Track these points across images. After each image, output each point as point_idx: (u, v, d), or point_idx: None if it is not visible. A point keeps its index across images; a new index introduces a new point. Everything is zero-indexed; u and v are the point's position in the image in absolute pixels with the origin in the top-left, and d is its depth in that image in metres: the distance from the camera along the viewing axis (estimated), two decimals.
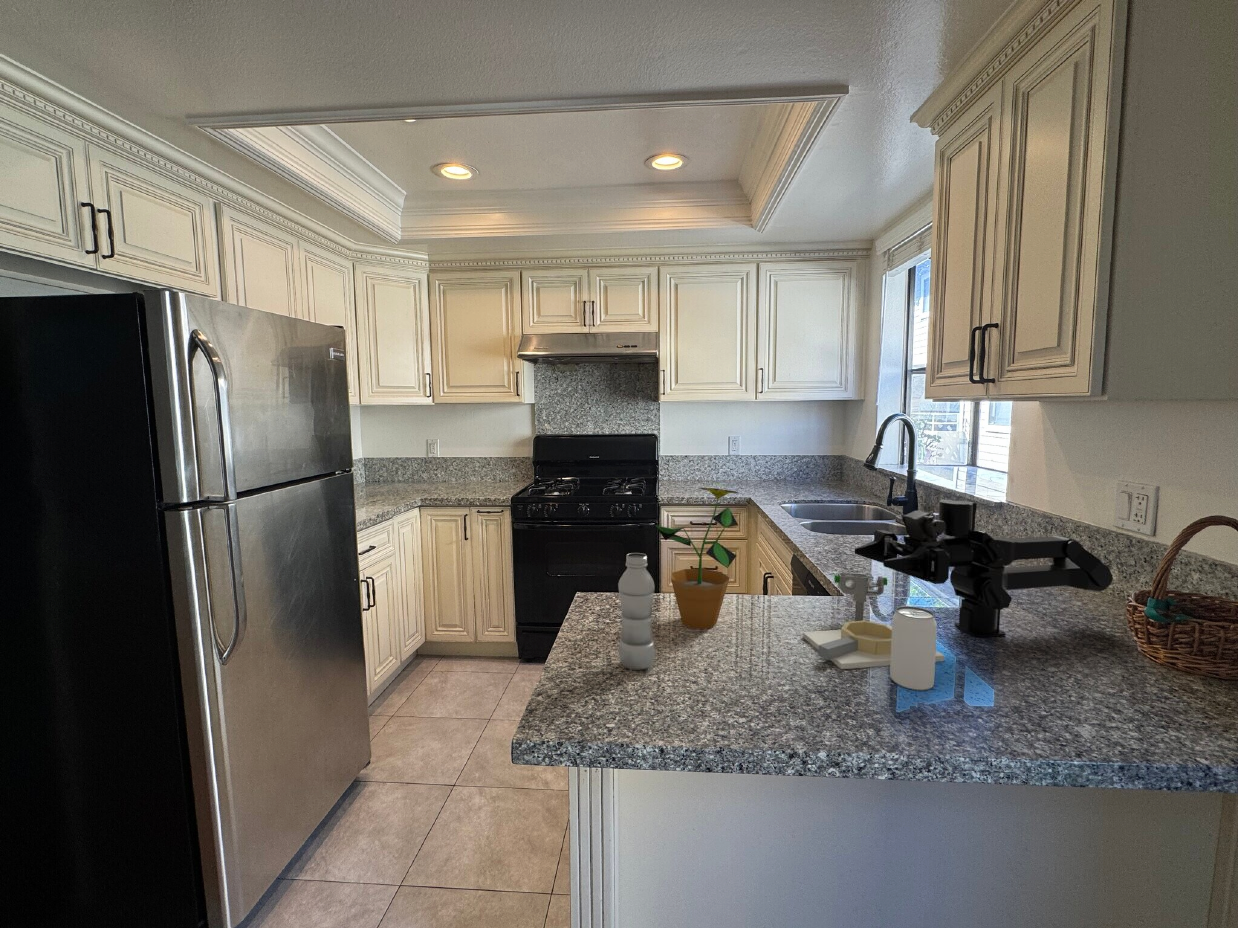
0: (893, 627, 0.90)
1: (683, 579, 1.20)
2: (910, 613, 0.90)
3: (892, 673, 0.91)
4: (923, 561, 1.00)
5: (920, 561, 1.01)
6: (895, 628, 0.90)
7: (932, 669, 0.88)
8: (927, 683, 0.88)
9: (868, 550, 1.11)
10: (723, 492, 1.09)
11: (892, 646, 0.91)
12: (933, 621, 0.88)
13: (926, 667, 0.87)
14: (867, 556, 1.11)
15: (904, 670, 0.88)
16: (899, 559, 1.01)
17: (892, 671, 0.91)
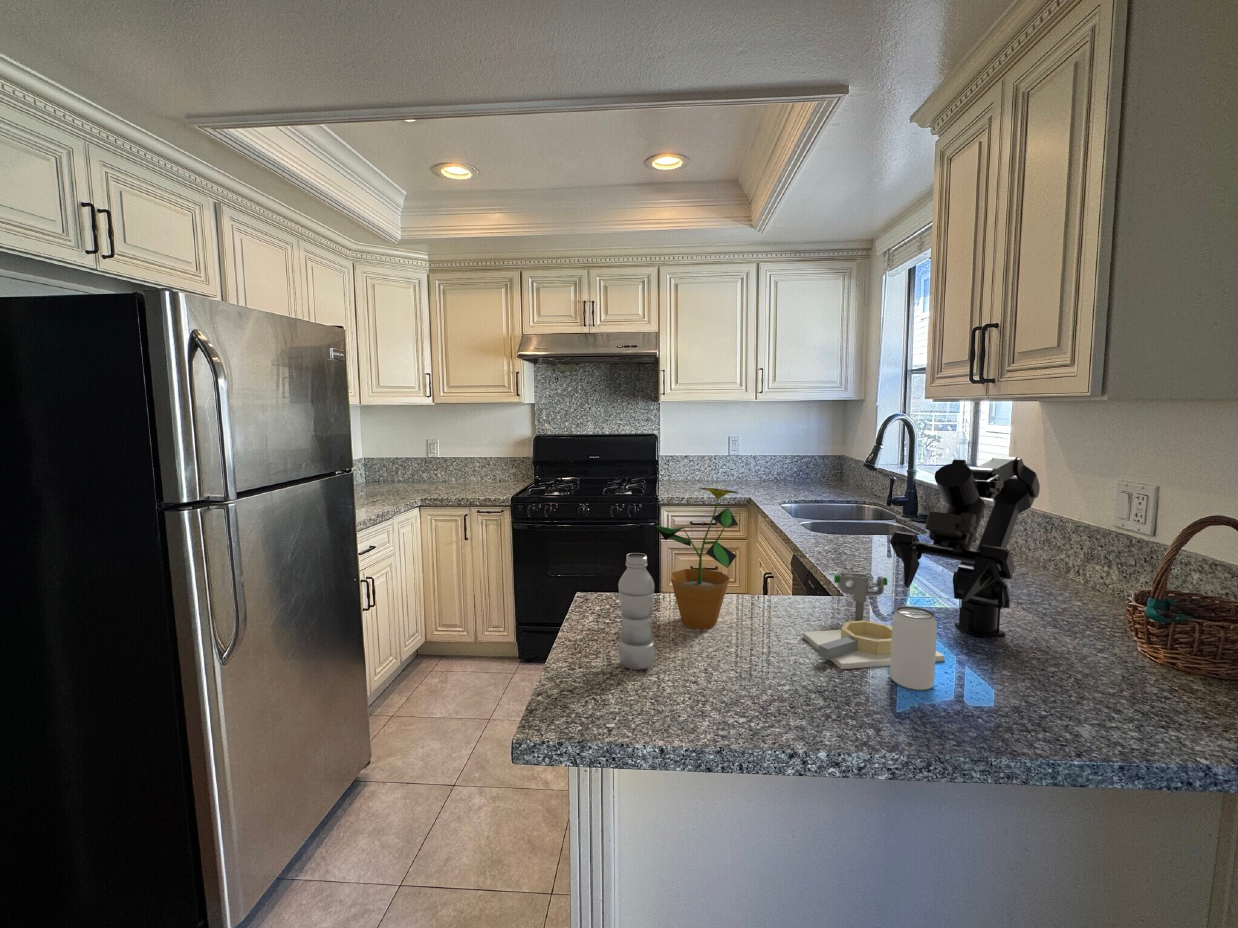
0: (893, 627, 0.90)
1: (683, 579, 1.20)
2: (910, 613, 0.90)
3: (892, 673, 0.91)
4: (989, 568, 0.91)
5: None
6: (895, 628, 0.90)
7: (932, 669, 0.88)
8: (927, 683, 0.88)
9: (911, 573, 0.99)
10: (723, 492, 1.09)
11: (892, 646, 0.91)
12: (933, 621, 0.88)
13: (926, 667, 0.87)
14: (913, 577, 1.00)
15: (904, 670, 0.88)
16: (972, 585, 0.91)
17: (892, 671, 0.91)
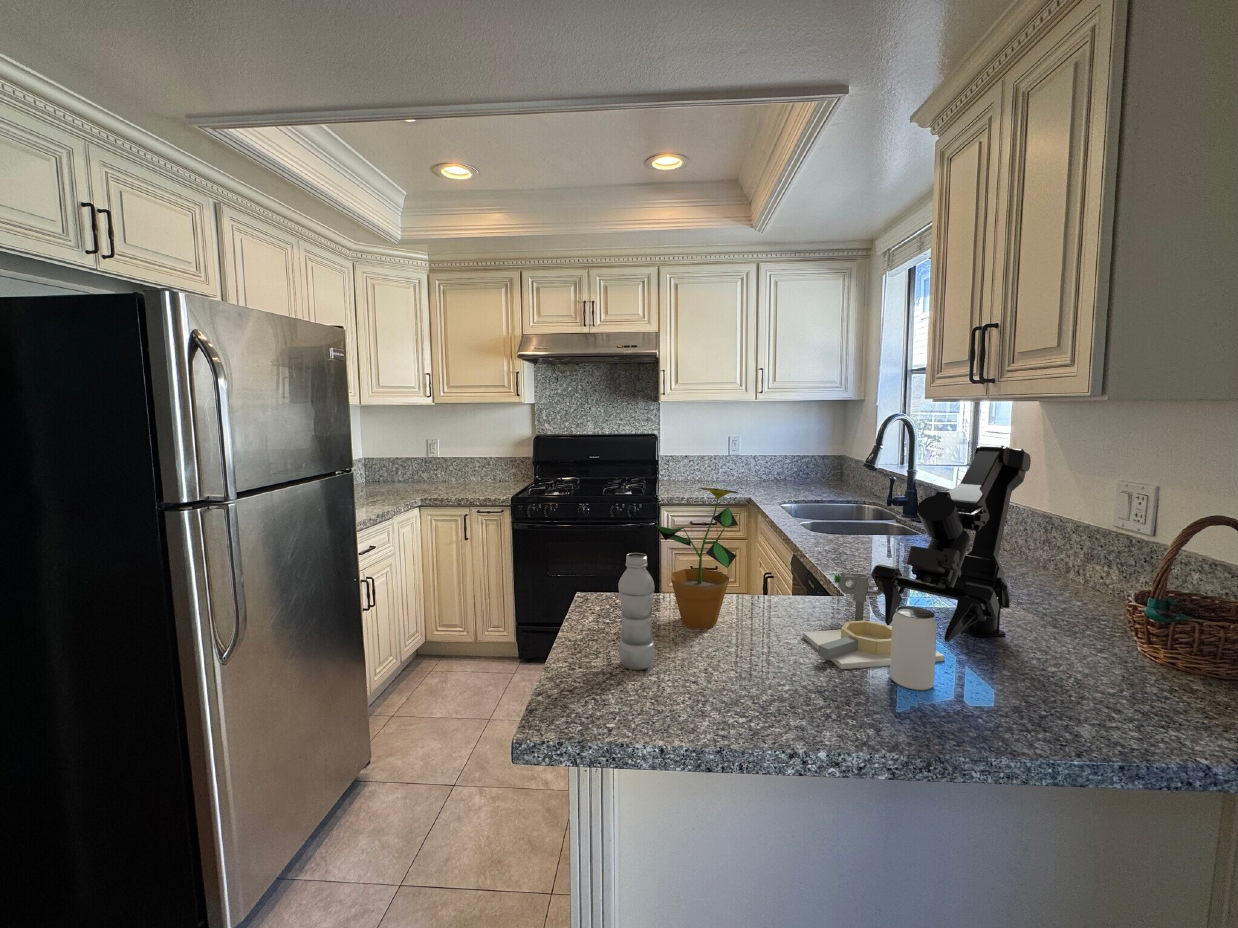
0: (893, 627, 0.90)
1: (683, 579, 1.20)
2: (910, 613, 0.90)
3: (892, 673, 0.91)
4: (972, 608, 0.87)
5: None
6: (895, 628, 0.90)
7: (932, 669, 0.88)
8: (927, 683, 0.88)
9: (893, 609, 0.95)
10: (723, 492, 1.09)
11: (892, 646, 0.91)
12: (933, 621, 0.88)
13: (926, 667, 0.87)
14: None
15: (904, 670, 0.88)
16: (955, 625, 0.87)
17: (892, 671, 0.91)
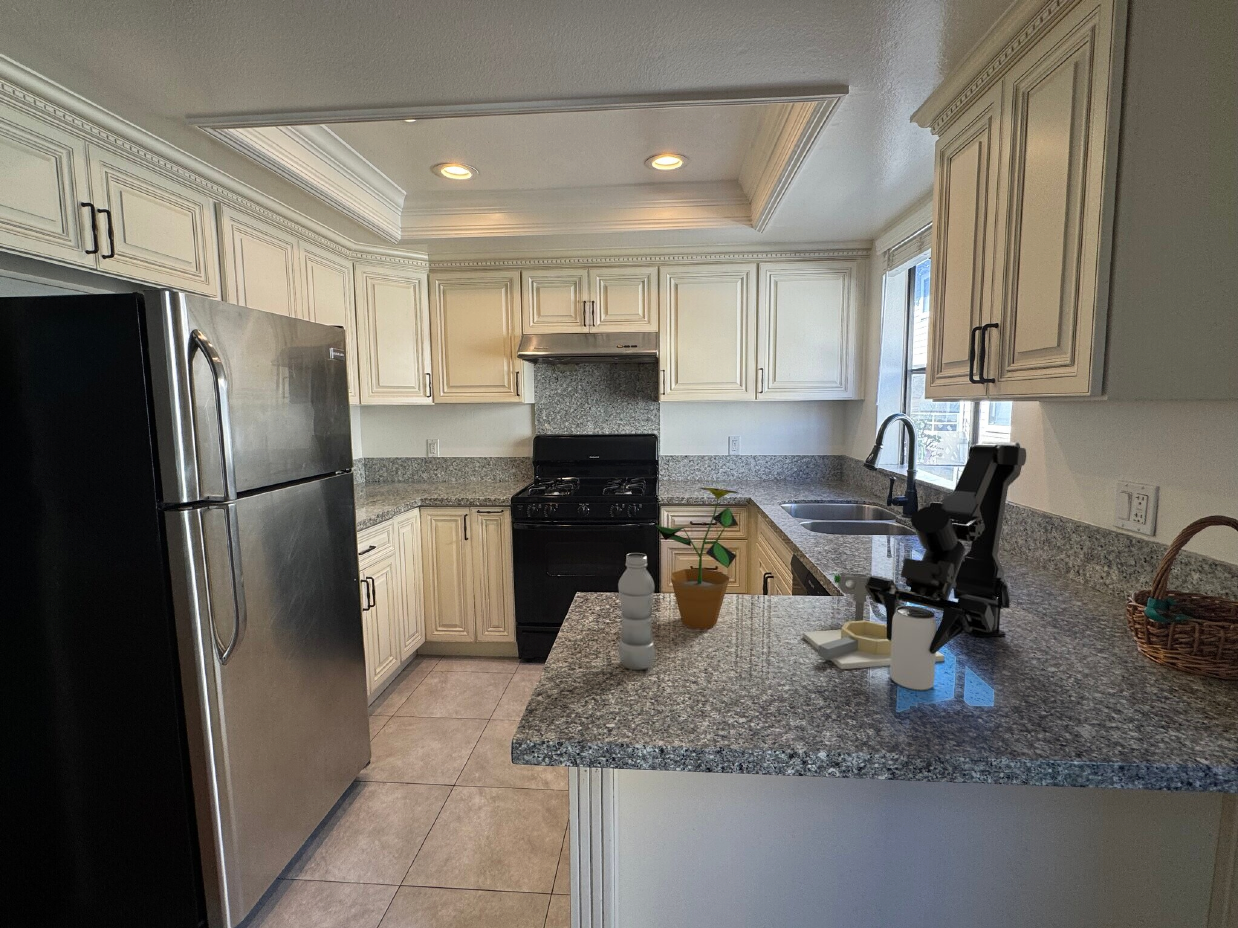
0: (893, 627, 0.90)
1: (683, 579, 1.20)
2: (910, 613, 0.90)
3: (892, 673, 0.91)
4: (958, 619, 0.87)
5: None
6: (895, 628, 0.90)
7: (932, 669, 0.88)
8: (927, 683, 0.87)
9: None
10: (723, 492, 1.09)
11: (892, 646, 0.91)
12: (933, 621, 0.88)
13: (926, 667, 0.87)
14: None
15: (904, 670, 0.88)
16: (941, 636, 0.87)
17: (892, 671, 0.91)
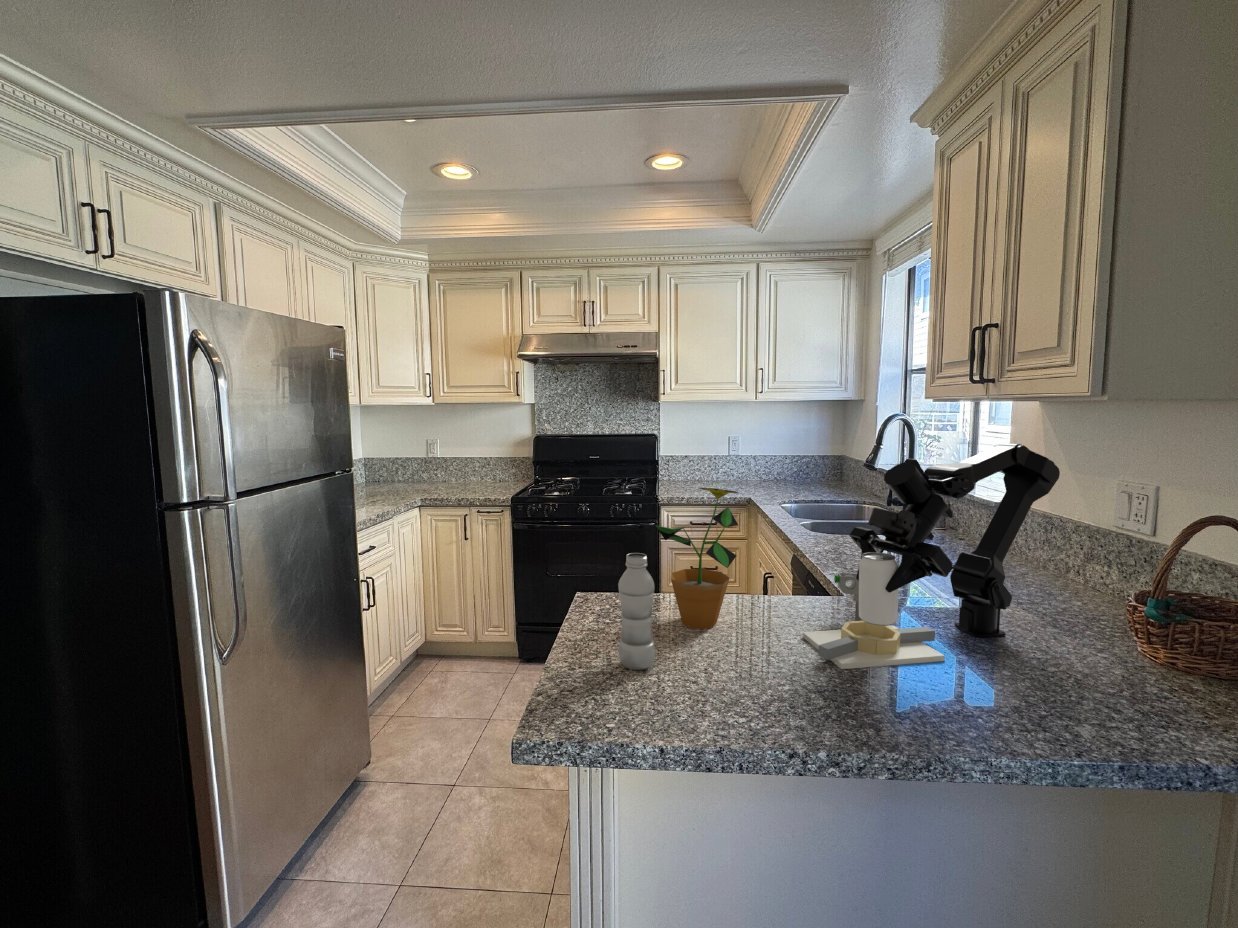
0: (859, 569, 1.01)
1: (683, 579, 1.20)
2: (874, 557, 1.00)
3: None
4: (916, 563, 0.96)
5: (912, 563, 0.96)
6: (859, 569, 1.01)
7: (891, 607, 0.97)
8: (885, 619, 0.97)
9: None
10: (723, 492, 1.09)
11: None
12: (891, 563, 0.97)
13: (883, 604, 0.97)
14: None
15: (865, 607, 0.99)
16: (897, 577, 0.96)
17: None
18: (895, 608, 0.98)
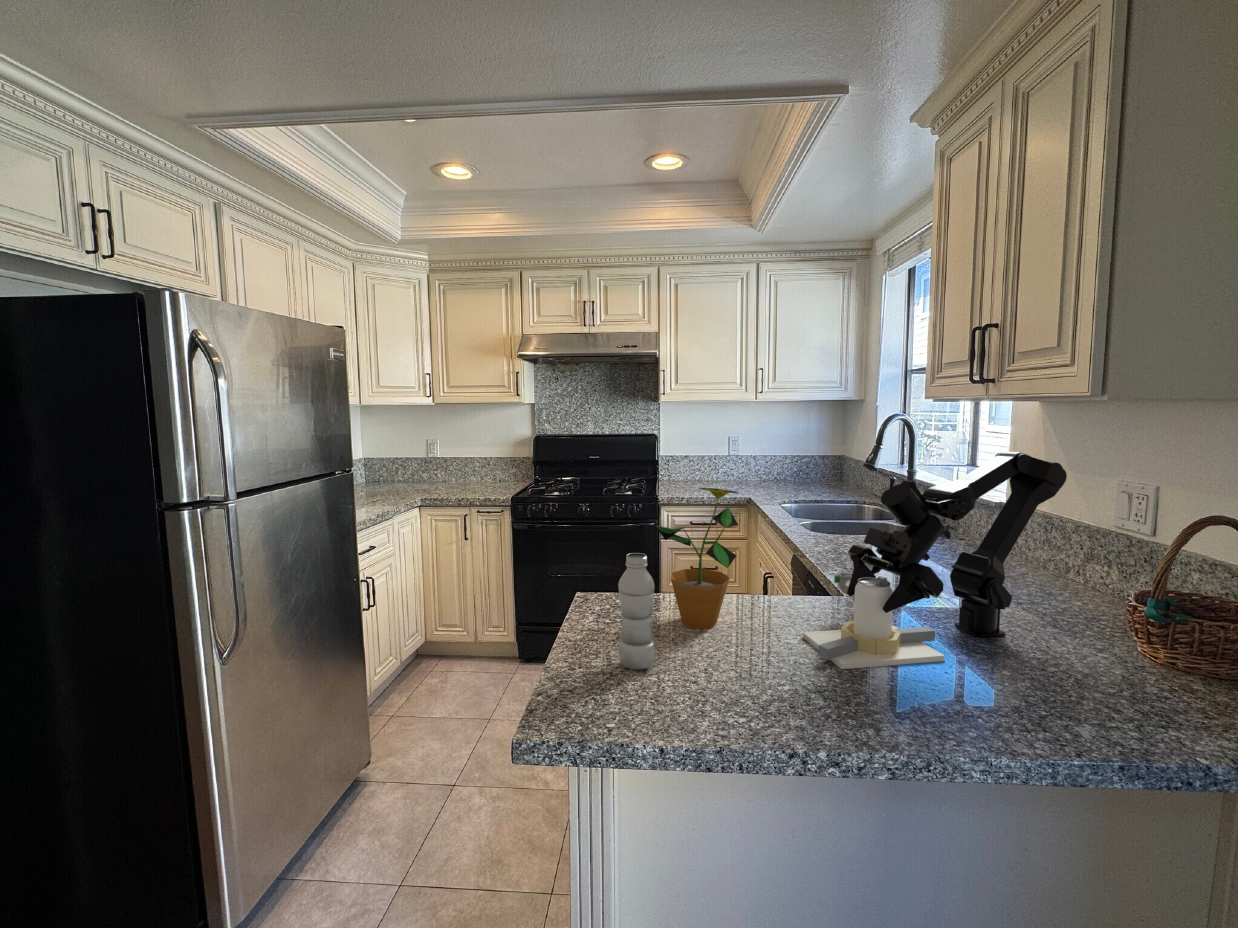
0: None
1: (683, 579, 1.20)
2: (869, 582, 1.03)
3: None
4: (913, 585, 0.97)
5: (910, 584, 0.97)
6: None
7: (884, 632, 1.00)
8: None
9: None
10: (723, 492, 1.09)
11: None
12: (885, 590, 1.00)
13: (876, 629, 1.00)
14: None
15: (859, 630, 1.02)
16: (894, 598, 0.97)
17: None
18: (888, 633, 1.00)
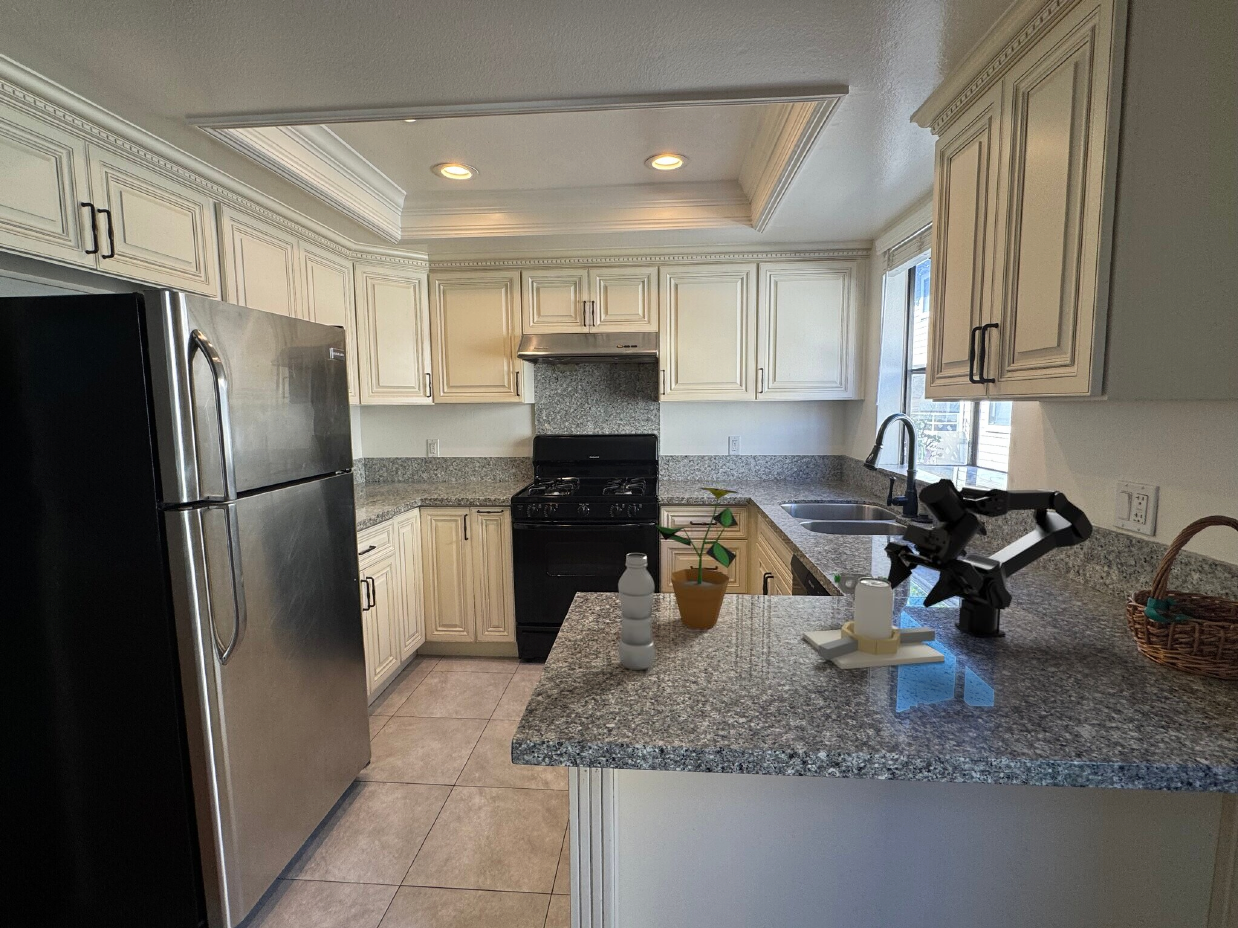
0: None
1: (683, 579, 1.20)
2: (870, 582, 1.03)
3: None
4: (953, 580, 0.99)
5: (950, 580, 1.00)
6: (855, 594, 1.03)
7: (884, 632, 1.00)
8: None
9: (895, 579, 1.10)
10: (723, 492, 1.09)
11: None
12: (886, 590, 1.00)
13: (877, 629, 1.00)
14: (898, 583, 1.10)
15: (859, 630, 1.02)
16: (934, 593, 1.00)
17: None
18: (888, 633, 1.00)
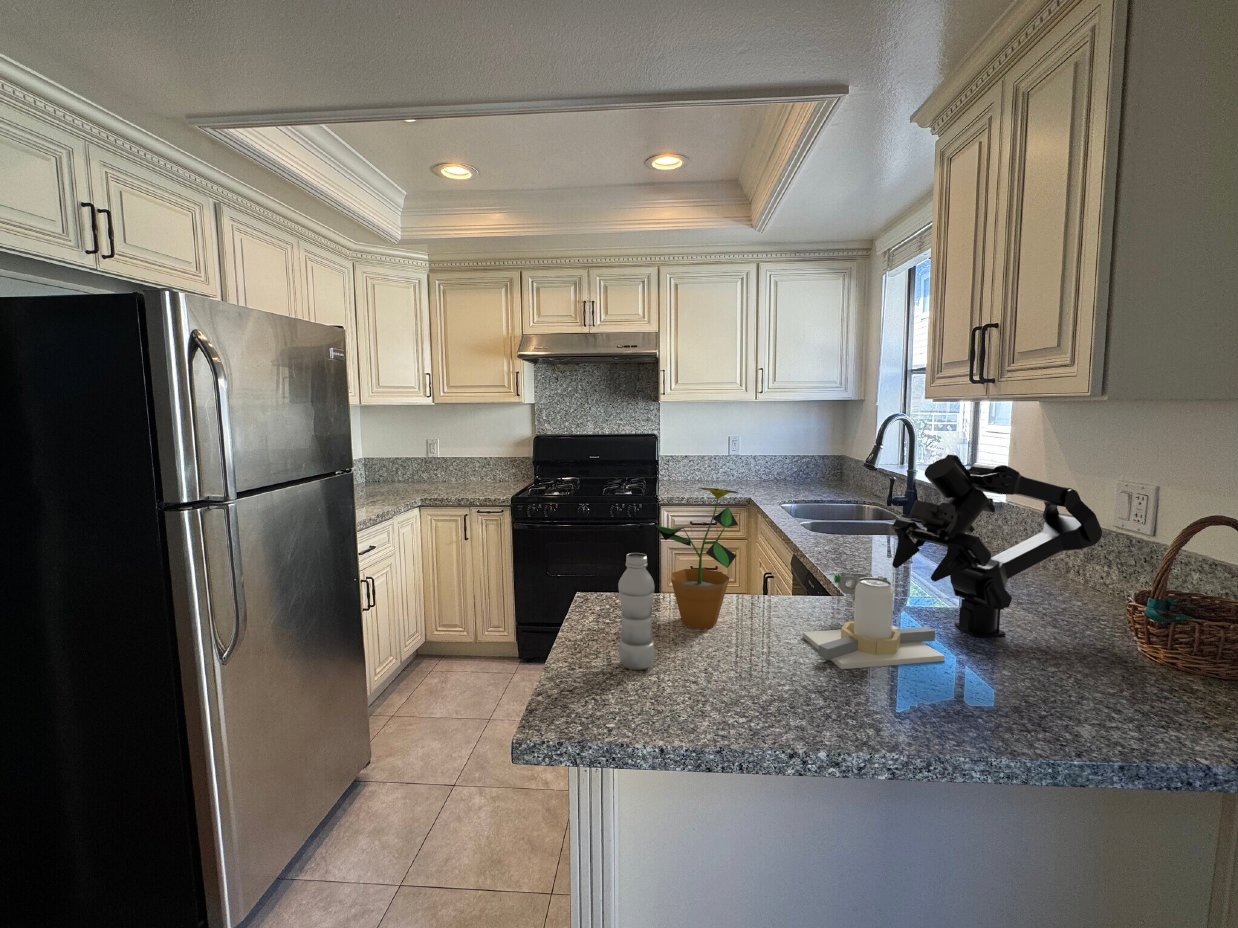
0: None
1: (683, 579, 1.20)
2: (870, 582, 1.03)
3: None
4: (961, 554, 1.00)
5: (958, 554, 1.01)
6: (855, 594, 1.03)
7: (884, 632, 1.00)
8: None
9: (902, 555, 1.10)
10: (723, 492, 1.09)
11: None
12: (886, 590, 1.00)
13: (877, 629, 1.00)
14: (905, 560, 1.11)
15: (859, 630, 1.02)
16: (942, 567, 1.01)
17: None
18: (888, 633, 1.01)
